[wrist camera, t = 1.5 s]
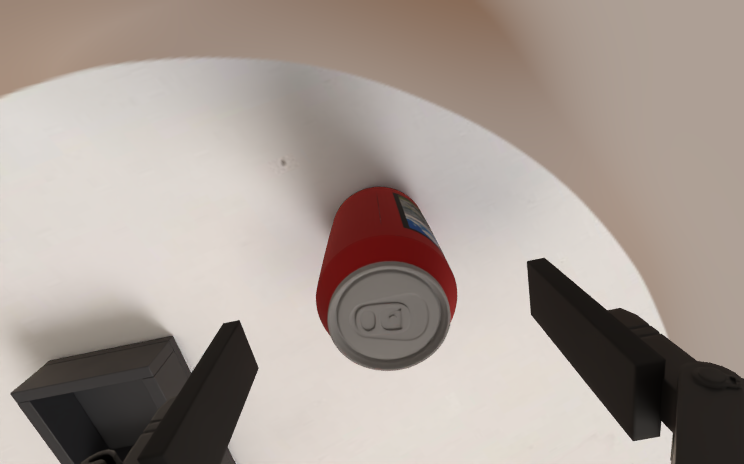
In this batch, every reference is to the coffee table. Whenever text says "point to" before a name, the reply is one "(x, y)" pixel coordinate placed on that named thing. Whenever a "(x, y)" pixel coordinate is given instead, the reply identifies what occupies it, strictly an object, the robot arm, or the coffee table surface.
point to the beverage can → (384, 282)
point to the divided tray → (102, 397)
